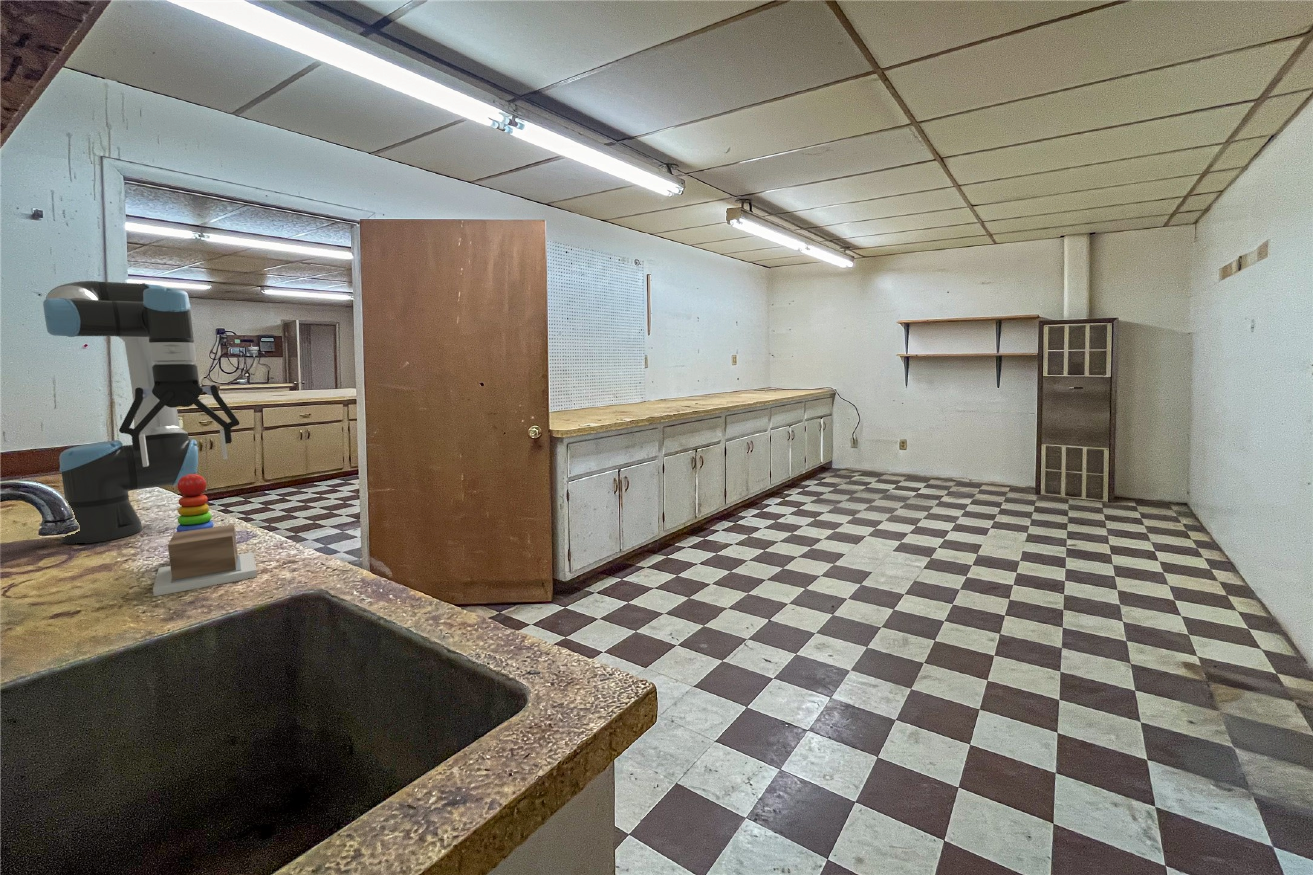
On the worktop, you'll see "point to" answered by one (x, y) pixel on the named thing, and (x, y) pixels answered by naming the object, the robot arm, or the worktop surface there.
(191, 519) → the stacking toy
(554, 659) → the worktop surface
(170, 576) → the baseplate
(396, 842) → the worktop surface
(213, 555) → the walnut block
